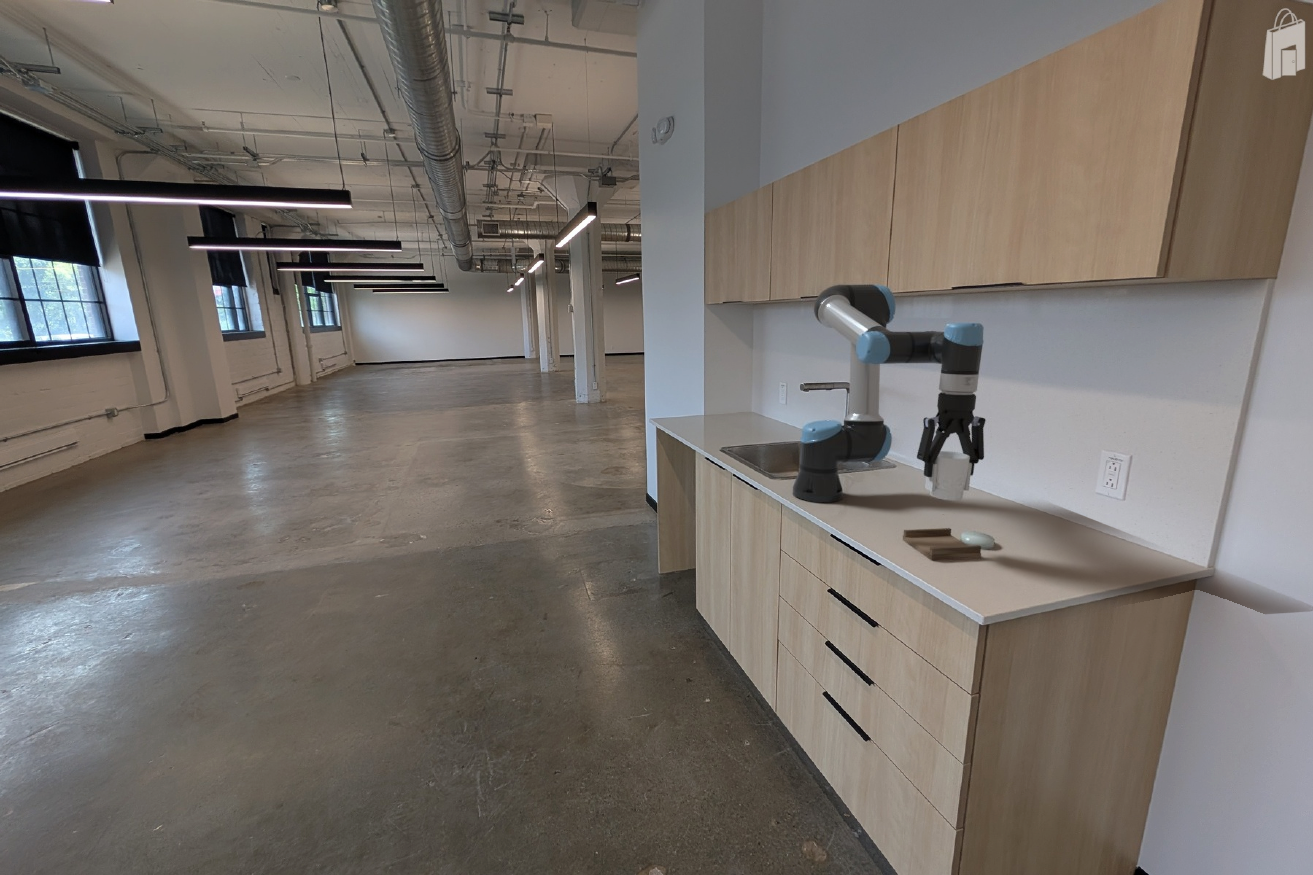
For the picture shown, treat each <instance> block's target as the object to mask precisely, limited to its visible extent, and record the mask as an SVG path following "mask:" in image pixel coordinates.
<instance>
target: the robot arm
mask: <svg viewBox="0 0 1313 875" xmlns="http://www.w3.org/2000/svg"><path fill="white" fill-rule="evenodd" d="M813 313H814V316H815V318H816V320H817V321H818V322H819V323H820V324H821V325H822V326H824V327H826V328H830V329H831V328H832V329H834V330H835V331H836V332H837V333H838V334H840V335H841V336H843V337H844V338H845V339H846V340H848V341H849V342H850V349H849V350H850V353H849V354H850V355H849V357H850V358H849V363H850V364H849V394H848V396H849V398H848V399H849V402H848V404H849V405H848V406H849V408H848V414H847V416H845V417H844V419H843V425H842V423H841V421H838V420H833V419H832V420H831V419H830V420H825V419H824V420H817V421H812V422H808V423H806V424H805V425H804V426H803V427H802V429H801V435H800V439H799V440H800V449H799V450H800V454H799V469H798V473H797V475H796V477H795V480H794V483H793V486H792V495H793V497H795V498H797V497H798V498H797V499H799V498H800V500H802V499H804V500H803V501H806V500H807V501H806V502H811V501H812V502H813V503H822V502H826V503H835V502H839V501H841V500H842V499H843V496H844V494H843V493H844V489H843V486H842V482H841V479H840V475H839V474H840V473H839V469H840V467H839V466H840V464H849V463H851V464H852V463H866V464H869V463H874V462H875V463H876V462H880V461H882V460H884V459H885V458H886V456H888V454H889V452H890V450H891V447H892V441H893V439H892V432H891V429H890V427H889V426H888V425H887V424H884V422H885V419H884V418H883V417H882V416H881V415H880V412H879V410H880V407H879V406H880V380H881V379H880V375H881V372H880V371H881V365H885V364H886V365H887V364H896V365H897V364H936V365H937V364H938V365H939V364H940V365H941V366H940V368H941V369H940V378H939V385H938V390H939V391H941V392H939V393H938V395H937V405H936V406H937V413H936V415H935V416H933V417H924V418H923V430H922V434H921V438H920V443H919V446H918V449H917V454H916V459H917V460H920V461H922V462H924V465H923V466H924V467H923V476H924V477H925V485H924V489H926V490H927V491H929V492H930V491H931V492H935V487H936V477H937V468H938V464H935V461H936V459H937V457H938V455H939V453H940V451H942V449H943V447H944V445H945V443H946V440H947V439H948V438H950V436H951V434H955V433H956V435H957V437H958V440H959V444H960V447H961V450H962V453H963V454H966V455H969V456H970V461H969V467H968V473H967V478H966V483H965V487H964V491H969V490H970V484H971V483H970V482H971V477H973V475H974V469H975V465H976V464H978V463H979V461H983V460H984V458H985V445H984V442H985V441H984V440H985V438H984V436H985V434H984V427H985V424H986V418H985V417H981V416H974V412H973V411H974V410H975V409H976V401H977V395H976V394H975V393H976V392H977V391H978V384H979V377H980V376H979V373H980V369H981V368H980V367H981V359H982V352H983V344H984V343H985V342H984V325H983V324H982V323H980V322H950V323H948V324H946V326H945V329H944V331H936V330H927V331H926V330H925V331H891V330H890V329H888V328H887V325H888V324H890V323H891V322H892V321H893V319H894V315H896V299H895V296H894V293H893V292H892V290H891V289H890V288H889V287H888V286H886V285H883V284H881V285H880V284H874V283H873V284H836V285H835V284H834V285H832V286H829V287H826V289H824V290H822V291H821V293H820V294H819V295H818V296H817V297H816V299H815V300H814V304H813ZM970 425H971V431H970ZM936 427H937V428H936Z"/></svg>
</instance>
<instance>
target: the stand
mask: <svg viewBox="0 0 1313 875" xmlns="http://www.w3.org/2000/svg"><path fill="white" fill-rule="evenodd" d="M902 541H903V542H905V543H906V544H907V545H909V546H910V547H912V548H913V549H915V550H916V551H917V552H919V553H920V554H922V555H923V556H924V557H926V558H928V559H929V560H930V561H944V560H962V559H981V556H982V552H981V551H982V549H981V546H979V545H972V546H969V545H967V544H965V543H963V542H962V541H961V539H958V538H957V537H955V536H953V535H952V529H951V528H950V527H945V528H943V527H941V528H923V529H922V528H919V529H904V530H903V535H902Z"/></svg>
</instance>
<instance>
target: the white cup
mask: <svg viewBox="0 0 1313 875" xmlns="http://www.w3.org/2000/svg"><path fill="white" fill-rule="evenodd" d="M969 461H970V456H969V455H966V454H963V452H955V451H949V450H948V451H947V450H941V451H940V453H939V455H938V457H937V459H936V461H935V464H938V468H937V477H936V487H935V492H931V491H929V494H930V496H931V497H933V498H936V499H938V500H939V499H940V500H945V501H960V500H962V499H963V498H964V497H963V496H964V492H965V490H964V487H965V483H966V478H967V473H968V467H969Z"/></svg>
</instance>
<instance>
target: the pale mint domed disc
mask: <svg viewBox="0 0 1313 875" xmlns="http://www.w3.org/2000/svg"><path fill="white" fill-rule="evenodd" d="M960 541H962V542H963V543H965V544H967V545H969V546H972V545H979V546H981V550H991V549H993V548H995V547H994V546H995V537H993V536H991V535H989V534H986V533H985V532H979V531H964V532H962V533H961V535H960Z"/></svg>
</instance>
